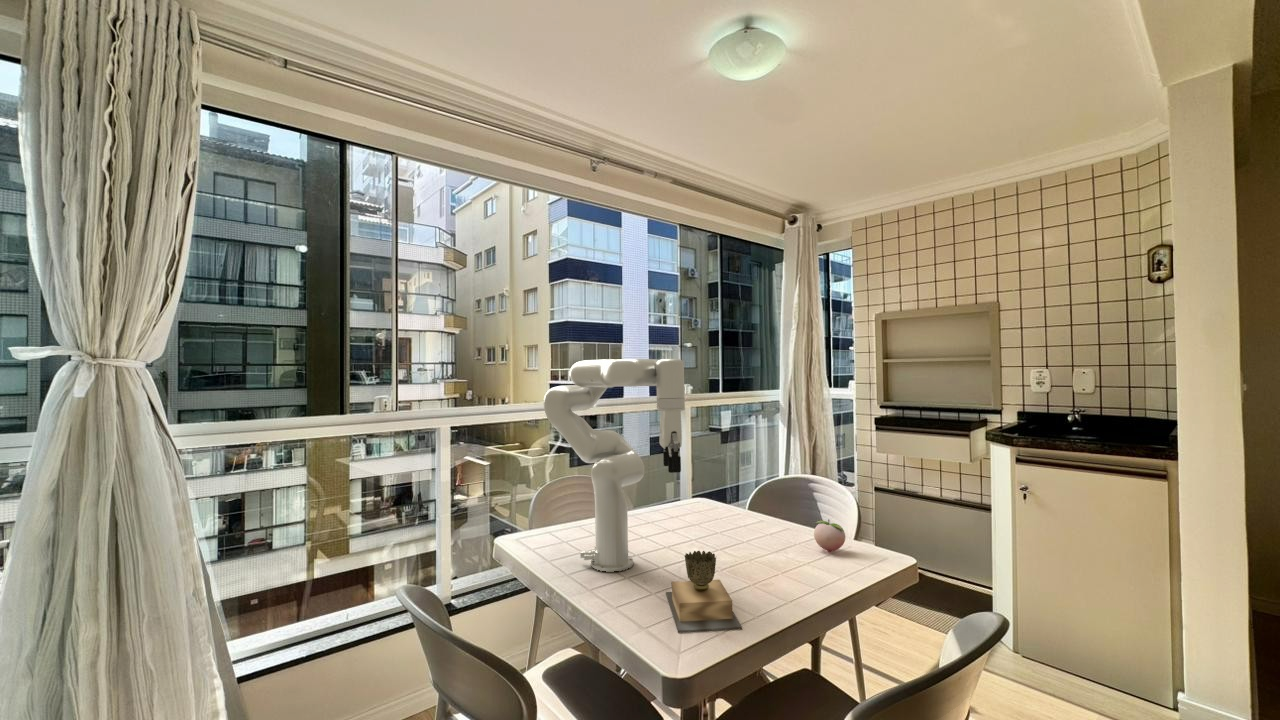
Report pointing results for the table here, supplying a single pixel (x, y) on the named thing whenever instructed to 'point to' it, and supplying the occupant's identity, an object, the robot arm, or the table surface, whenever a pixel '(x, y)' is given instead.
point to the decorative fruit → (829, 535)
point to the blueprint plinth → (701, 608)
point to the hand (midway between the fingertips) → (671, 468)
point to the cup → (700, 569)
